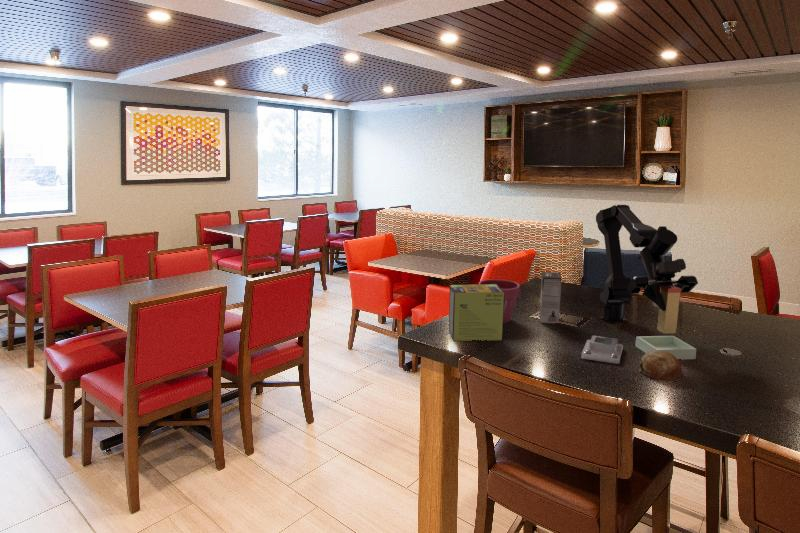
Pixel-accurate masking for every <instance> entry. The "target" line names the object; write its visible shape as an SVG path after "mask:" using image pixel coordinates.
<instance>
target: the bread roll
mask: <svg viewBox="0 0 800 533" xmlns="http://www.w3.org/2000/svg"><path fill="white" fill-rule="evenodd" d="M638 371H639V372H640V373H642V374H643V375H645V376H647V377H648V378H651V379H654V380H661V381H673V380H676V379H678V378H679V377H681V374H682V373H683V370H682V363H681V362H680V361H679V360H677V358H676V357H675V356H674V355H672V354H670V353H668V352H665V351H660V350H653V351H649V352H647V353H644V354H643V356H642V358H641V359H640V362H639V369H638Z"/></svg>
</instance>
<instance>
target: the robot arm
mask: <svg viewBox="0 0 800 533" xmlns="http://www.w3.org/2000/svg"><path fill="white" fill-rule="evenodd" d="M595 221H596V224H597V229H598V231H600V233H601V234H602V235H603V238H604V239H603V240H604V245H605V246H604V248H605V254H606V263H607V271H608V276H607V279H606V280H605V283H604V289H603V290H602V292H601V293H600V294H599V301H600V302H601V303H603V304H604V307H603V313H602V316H599V319H601V320H603V321H607V322H611V323H612V324H613V323H614V324H617V323H622V322H627V321H628V319H626V318H624V315H625V305H630V303H631V300H632V297H633V295H634V294H635V295H636V294H640V292H641V291H642V289H643V292H642V293H641V295H642V296H643V297H646V298H647V299H649V300H650V301H651V302H653V304H655V305H656V306H657V307H658V309H659V308H660V309H662V310H663V311H665V310H666V307H665V303H664V301H663V298H662V295H661V286H665V285H674V286H676V287H679V288H681V293H680V295H681V294H687V293H690V292H691V291H692V290H693V289H694V288H695V287H696V286H697V285H698V284H699V281H698V279H697V277H696V276H694V275H681V276H680V277H679V278H678V280H677V279H676V280H675V279H674V278H675V277H676V274H677V273H681V272H682V271H685V270H686V268H687V265H686V261H685V260H684V258H676V259H674V260H665V258H664V256H666V255H667V254H668V253H669V252H670V251H671V249H672V248H673V247H674V246H675V244H676V243H677V242H678V236H677V234H675V233H674V232H673V231H672V230H670V229H669V228H667V226H658V227H657V229H656V228H655V227H653V226H651V225H649V224H645V223H643V222H642V220H641V219H640V218H638V216H637V215H636V214H635V213H634V212H633V211H632V210H631V208H630V205H628V204H614V205H612V206H610V207H608V208H605V209H601V210H599V211H598V212H597V213H596V214H595ZM622 227H624V228H625V230H626V231H627V232H628V234H629V238H628V240H629V241H630V243H631V244H632V246H633V247H634V248H642V249H641V250H640V252H639V254H638V256H637V260H638V261H641V260H642V264H643V266H644V269H645V270H644V272H643V274H644V276H643V275H640V276H639V275H636V276H633V278H632V279H631V278H630V276H627V275H626V274H625V272H624V265H623V264H624V263H623V258H622V256H623V255H622V249H621V248H622V247H621V241H620V231H621V229H622ZM680 305H681V299H680V300H679V309H678V311H679V310H680Z"/></svg>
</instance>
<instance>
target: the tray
mask: <svg viewBox="0 0 800 533" xmlns="http://www.w3.org/2000/svg"><path fill="white" fill-rule="evenodd" d="M634 344H635V347H636V348H637V349H639V350H640V351H642V353H644V354H646V353H647V352H649V351H653V350H660V351H665V352H668V353H670V354H672V355H674V356H675V357H676V358H677V360H678V359H681V360H696V359H697V358H696V357H697V348H695V347H694V346H692V345H690V344H689V343H687V342H685V341H684V340H682V339H680V338H678V337H676V336H675V335H651V336H650V335H649V336H647V335H645V336H643V335H642V336H640V335H639V336H638V335H637V336H636V338H635V343H634ZM678 361H679V360H678Z"/></svg>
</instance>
